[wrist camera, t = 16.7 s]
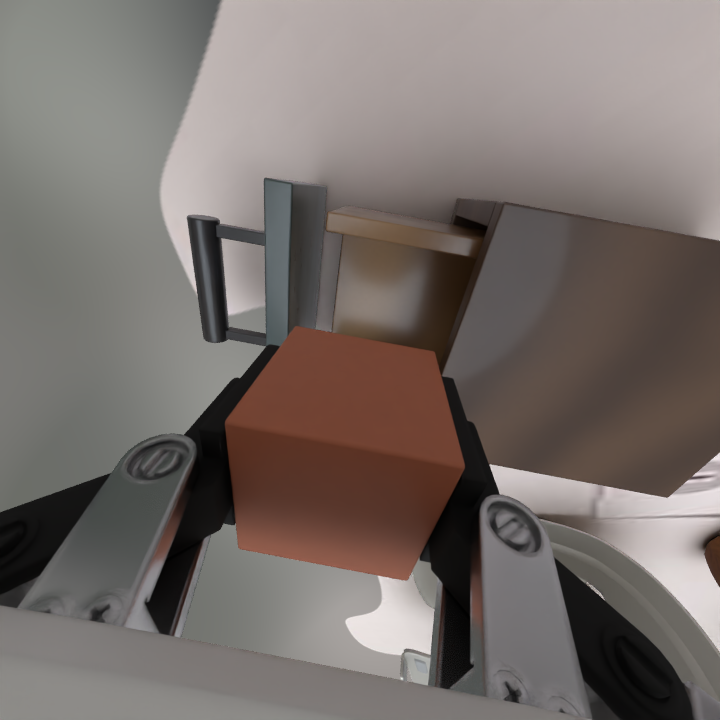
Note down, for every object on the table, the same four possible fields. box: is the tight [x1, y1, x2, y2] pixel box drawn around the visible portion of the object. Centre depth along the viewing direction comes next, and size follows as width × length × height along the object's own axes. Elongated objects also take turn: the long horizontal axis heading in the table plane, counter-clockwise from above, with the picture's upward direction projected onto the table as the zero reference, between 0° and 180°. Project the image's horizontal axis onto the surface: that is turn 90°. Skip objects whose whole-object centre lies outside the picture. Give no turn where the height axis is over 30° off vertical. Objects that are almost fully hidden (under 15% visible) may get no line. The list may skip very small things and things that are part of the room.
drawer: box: [187, 178, 486, 366], centre depth 17 cm, size 18×12×7 cm, turn 81°
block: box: [225, 326, 465, 581], centre depth 8 cm, size 4×4×4 cm
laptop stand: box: [400, 519, 720, 703], centre depth 31 cm, size 26×24×16 cm
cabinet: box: [439, 198, 720, 498], centre depth 17 cm, size 15×13×9 cm
